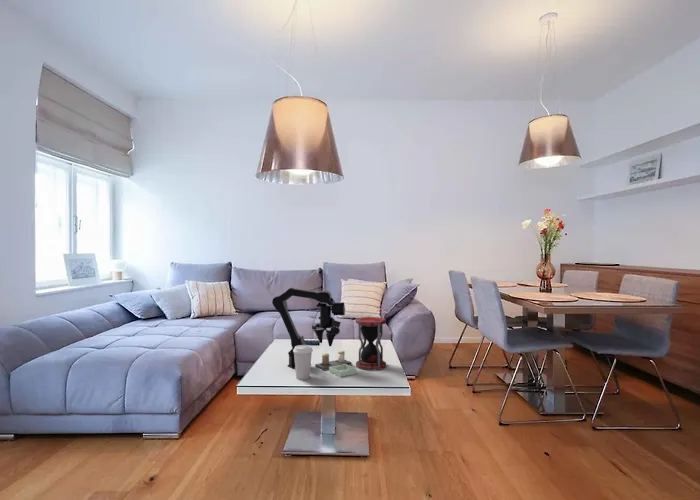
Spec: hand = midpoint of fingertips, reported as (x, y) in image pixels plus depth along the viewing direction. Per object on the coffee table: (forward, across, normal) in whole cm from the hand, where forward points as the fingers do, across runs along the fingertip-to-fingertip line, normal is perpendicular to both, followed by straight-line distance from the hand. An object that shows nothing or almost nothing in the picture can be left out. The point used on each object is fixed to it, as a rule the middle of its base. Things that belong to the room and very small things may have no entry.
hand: (325, 344), depth 218 cm
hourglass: (+12, -12, -21) cm, 27 cm away
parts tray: (+12, -13, -2) cm, 18 cm away
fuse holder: (+12, 0, -5) cm, 13 cm away
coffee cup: (+12, -8, +18) cm, 23 cm away
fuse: (+12, 0, -10) cm, 16 cm away
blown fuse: (+12, 0, 0) cm, 12 cm away
